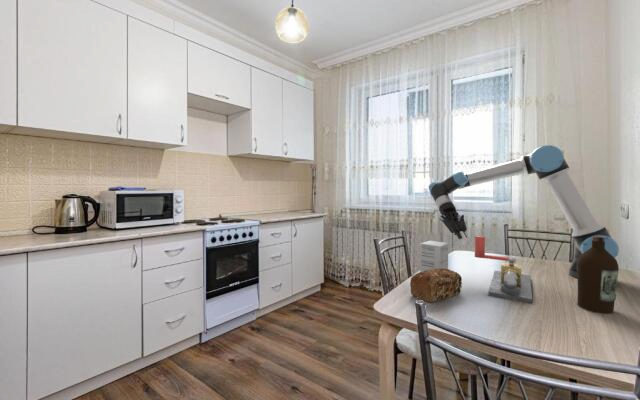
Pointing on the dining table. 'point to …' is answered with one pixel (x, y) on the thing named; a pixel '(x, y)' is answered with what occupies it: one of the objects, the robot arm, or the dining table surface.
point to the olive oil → (597, 278)
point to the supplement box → (433, 255)
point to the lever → (481, 251)
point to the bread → (435, 284)
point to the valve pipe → (511, 283)
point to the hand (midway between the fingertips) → (466, 244)
